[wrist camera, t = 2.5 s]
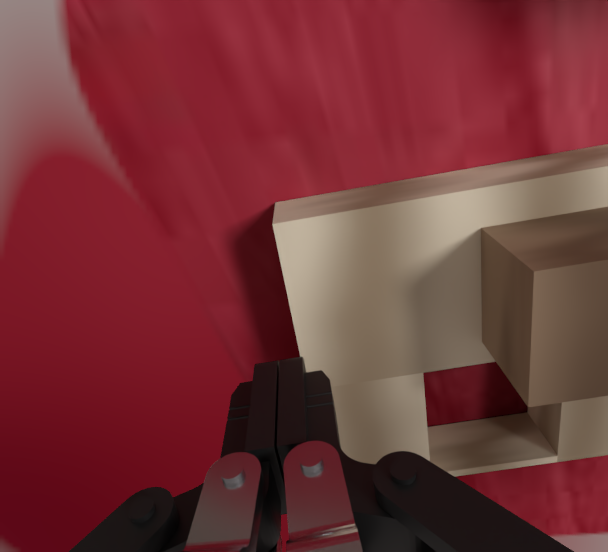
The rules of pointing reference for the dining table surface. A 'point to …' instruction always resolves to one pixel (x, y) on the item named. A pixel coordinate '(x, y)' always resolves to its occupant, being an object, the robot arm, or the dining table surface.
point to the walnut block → (548, 305)
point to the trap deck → (427, 306)
